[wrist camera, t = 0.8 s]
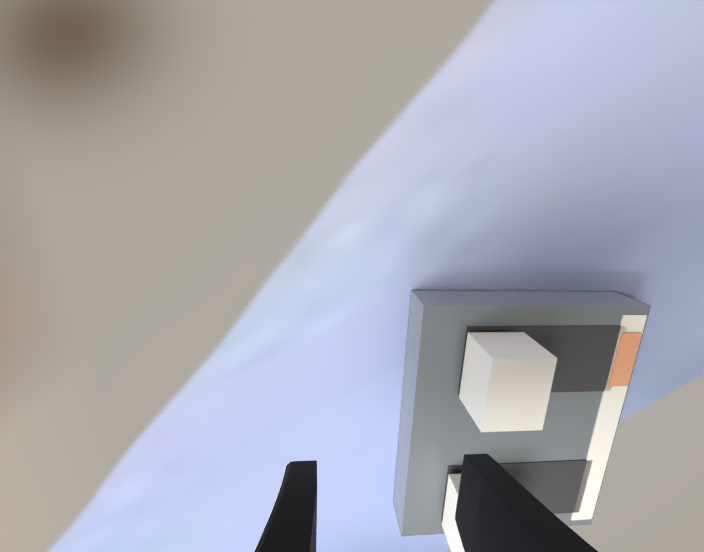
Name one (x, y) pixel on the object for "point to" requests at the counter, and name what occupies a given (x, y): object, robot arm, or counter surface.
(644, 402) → the counter surface
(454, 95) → the counter surface
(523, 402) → the switch tab
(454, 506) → the switch tab
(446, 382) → the switch panel
